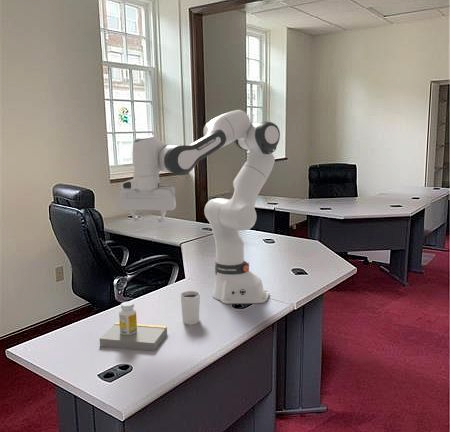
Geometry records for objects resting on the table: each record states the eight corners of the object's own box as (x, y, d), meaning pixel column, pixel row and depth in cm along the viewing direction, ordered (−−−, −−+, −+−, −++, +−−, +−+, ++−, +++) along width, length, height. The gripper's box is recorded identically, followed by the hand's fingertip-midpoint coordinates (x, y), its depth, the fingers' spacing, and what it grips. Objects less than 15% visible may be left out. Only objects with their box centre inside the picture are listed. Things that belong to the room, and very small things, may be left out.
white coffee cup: (186, 316, 166) (185, 289, 164) (203, 318, 164) (202, 292, 162) (178, 323, 160) (177, 296, 158) (195, 326, 158) (194, 298, 156)
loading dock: (167, 333, 152) (166, 326, 152) (154, 350, 141) (154, 342, 140) (116, 329, 156) (115, 322, 155) (100, 345, 144) (99, 337, 144)
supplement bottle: (119, 336, 145) (117, 307, 144) (121, 328, 151) (119, 301, 149) (136, 335, 146) (135, 306, 144) (137, 327, 151) (136, 300, 149)
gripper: (177, 182, 162) (179, 221, 164) (123, 181, 166) (125, 219, 168) (172, 184, 155) (173, 224, 158) (115, 184, 160) (118, 223, 162)
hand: (148, 222), depth 163 cm, fingers open, 8 cm apart
